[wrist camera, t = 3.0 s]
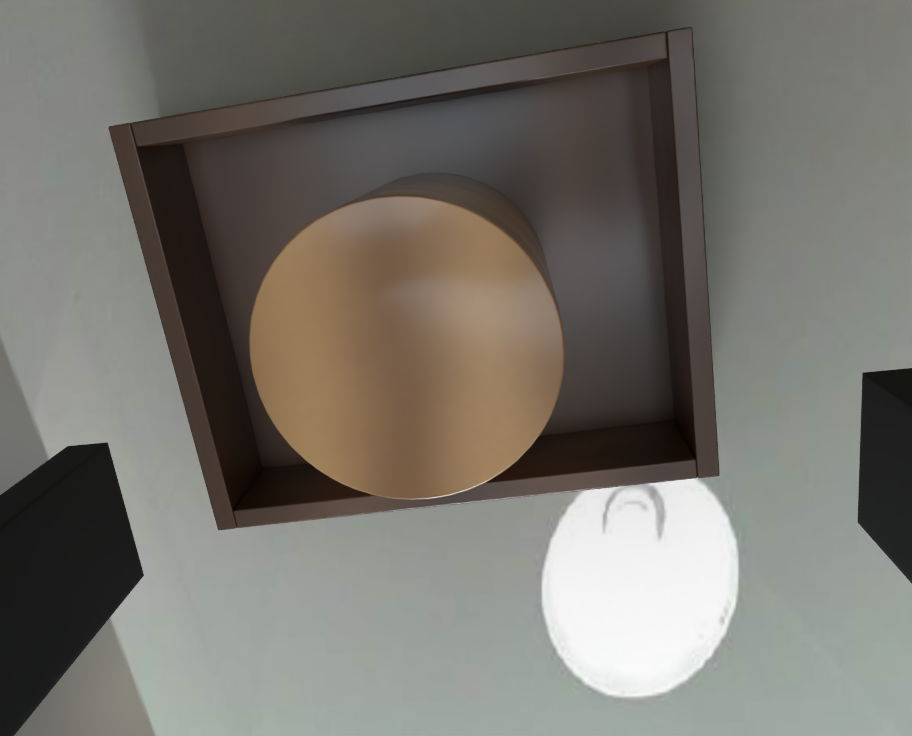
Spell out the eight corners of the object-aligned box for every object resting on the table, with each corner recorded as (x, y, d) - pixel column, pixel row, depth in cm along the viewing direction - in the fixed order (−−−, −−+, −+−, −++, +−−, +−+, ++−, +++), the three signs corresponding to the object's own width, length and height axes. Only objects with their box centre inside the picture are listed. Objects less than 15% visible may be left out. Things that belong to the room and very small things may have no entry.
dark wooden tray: (666, 40, 28) (692, 26, 24) (693, 432, 33) (719, 476, 29) (161, 126, 30) (107, 126, 26) (252, 483, 35) (217, 530, 31)
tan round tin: (533, 155, 30) (544, 170, 20) (560, 377, 32) (581, 483, 23) (306, 191, 31) (214, 221, 21) (350, 403, 33) (285, 515, 24)
